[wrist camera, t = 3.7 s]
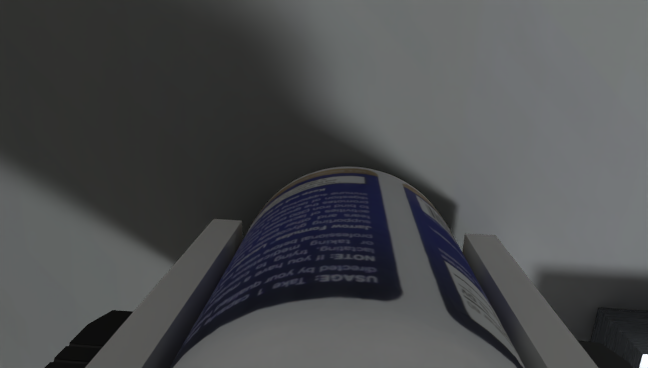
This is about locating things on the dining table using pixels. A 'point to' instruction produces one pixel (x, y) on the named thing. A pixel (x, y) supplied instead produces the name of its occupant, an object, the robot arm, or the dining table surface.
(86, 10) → the dining table surface
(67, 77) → the dining table surface
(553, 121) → the dining table surface
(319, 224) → the pill bottle
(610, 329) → the jig
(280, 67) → the dining table surface
